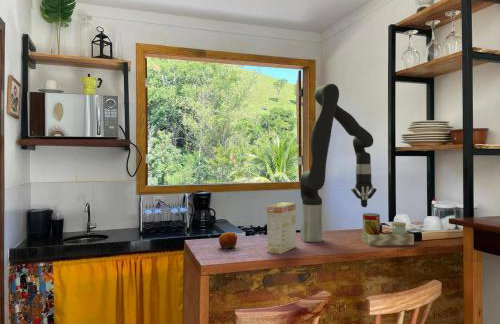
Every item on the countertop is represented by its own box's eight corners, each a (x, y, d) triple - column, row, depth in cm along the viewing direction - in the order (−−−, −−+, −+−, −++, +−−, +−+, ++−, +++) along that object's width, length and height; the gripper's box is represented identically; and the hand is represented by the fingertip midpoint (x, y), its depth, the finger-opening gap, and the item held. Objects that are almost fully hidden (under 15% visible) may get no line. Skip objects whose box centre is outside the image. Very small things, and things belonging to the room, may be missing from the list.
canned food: (382, 240, 174) (382, 215, 174) (365, 240, 174) (365, 215, 174) (376, 237, 182) (376, 213, 182) (360, 237, 182) (360, 213, 182)
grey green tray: (369, 245, 164) (369, 235, 164) (361, 240, 174) (361, 231, 174) (413, 244, 165) (413, 234, 165) (403, 240, 175) (403, 230, 175)
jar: (395, 243, 167) (395, 224, 167) (390, 241, 173) (390, 222, 173) (408, 243, 167) (408, 223, 167) (402, 241, 173) (402, 221, 173)
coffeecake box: (282, 245, 166) (281, 201, 166) (296, 246, 162) (296, 202, 163) (266, 252, 153) (266, 205, 153) (281, 254, 150) (281, 206, 150)
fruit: (225, 248, 155) (221, 230, 158) (219, 254, 161) (215, 237, 164) (242, 246, 158) (238, 228, 162) (235, 252, 164) (231, 235, 168)
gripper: (353, 173, 184) (353, 208, 184) (379, 173, 184) (379, 207, 184) (348, 173, 191) (349, 206, 191) (373, 172, 192) (374, 205, 192)
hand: (364, 207), depth 188 cm, fingers closed
